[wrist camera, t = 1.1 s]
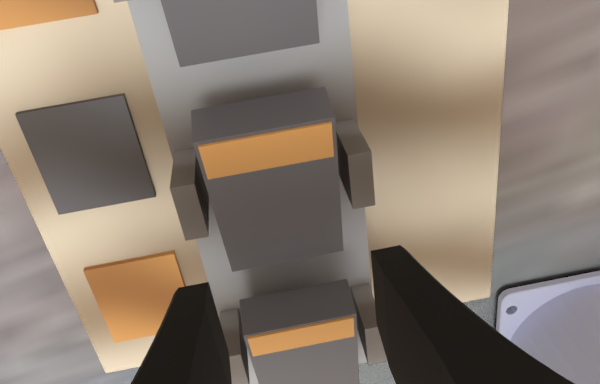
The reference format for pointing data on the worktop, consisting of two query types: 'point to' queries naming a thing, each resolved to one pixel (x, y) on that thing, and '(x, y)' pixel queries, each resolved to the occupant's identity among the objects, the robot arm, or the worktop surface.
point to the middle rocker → (272, 176)
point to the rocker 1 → (238, 27)
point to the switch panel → (187, 174)
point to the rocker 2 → (303, 335)
